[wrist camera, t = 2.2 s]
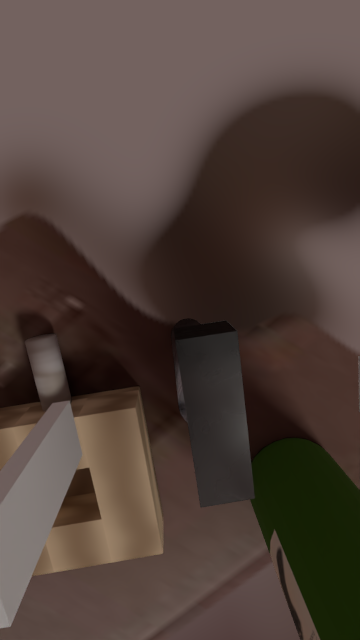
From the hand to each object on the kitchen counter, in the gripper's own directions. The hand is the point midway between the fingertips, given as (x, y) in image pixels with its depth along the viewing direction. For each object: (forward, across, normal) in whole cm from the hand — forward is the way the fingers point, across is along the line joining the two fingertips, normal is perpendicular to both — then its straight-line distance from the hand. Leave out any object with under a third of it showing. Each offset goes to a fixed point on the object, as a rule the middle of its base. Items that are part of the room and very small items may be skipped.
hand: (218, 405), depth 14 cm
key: (+13, 0, 0) cm, 13 cm away
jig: (+13, -12, -8) cm, 20 cm away
